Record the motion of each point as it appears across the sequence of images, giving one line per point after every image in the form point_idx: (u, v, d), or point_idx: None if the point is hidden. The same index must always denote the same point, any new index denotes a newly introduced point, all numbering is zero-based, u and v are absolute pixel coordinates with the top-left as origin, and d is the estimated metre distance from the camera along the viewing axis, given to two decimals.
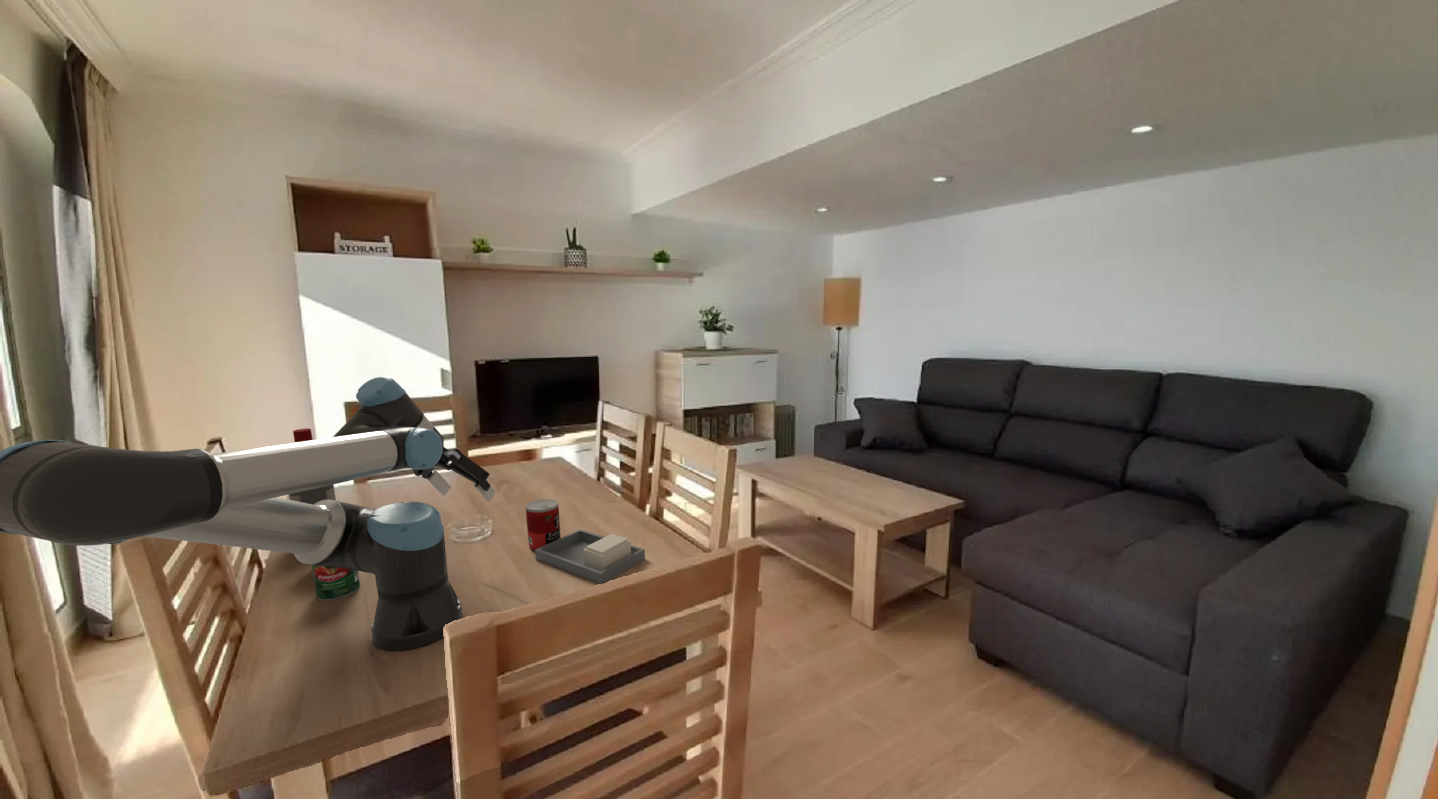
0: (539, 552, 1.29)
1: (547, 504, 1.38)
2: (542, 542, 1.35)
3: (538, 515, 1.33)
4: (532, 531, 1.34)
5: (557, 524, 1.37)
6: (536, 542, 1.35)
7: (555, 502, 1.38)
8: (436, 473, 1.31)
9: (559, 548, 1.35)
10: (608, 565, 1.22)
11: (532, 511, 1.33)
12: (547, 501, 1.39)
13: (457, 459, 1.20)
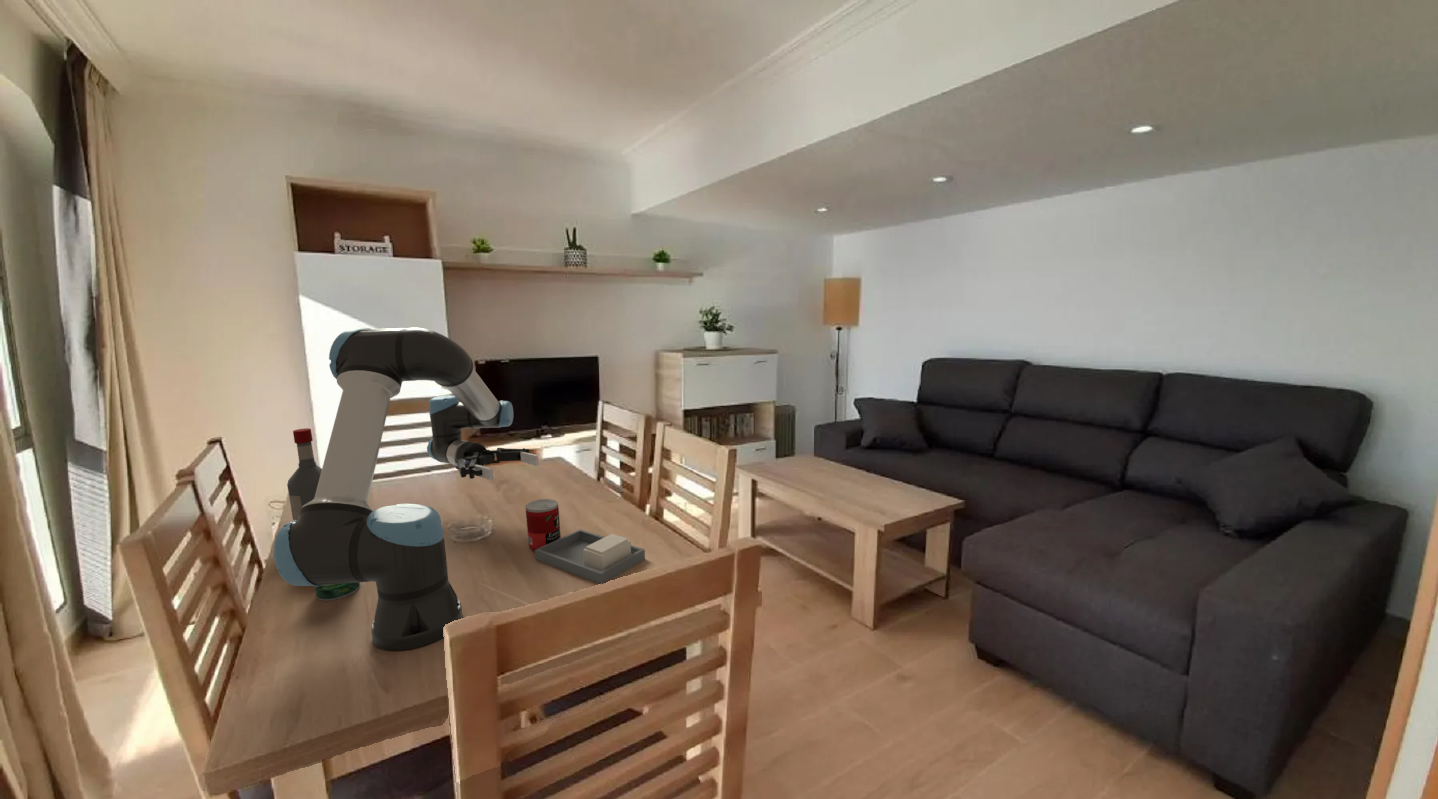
0: (539, 552, 1.29)
1: (547, 504, 1.38)
2: (542, 542, 1.35)
3: (538, 515, 1.33)
4: (532, 531, 1.34)
5: (557, 524, 1.37)
6: (536, 542, 1.35)
7: (555, 502, 1.38)
8: None
9: (559, 548, 1.35)
10: (608, 565, 1.22)
11: (532, 511, 1.33)
12: (547, 501, 1.39)
13: None
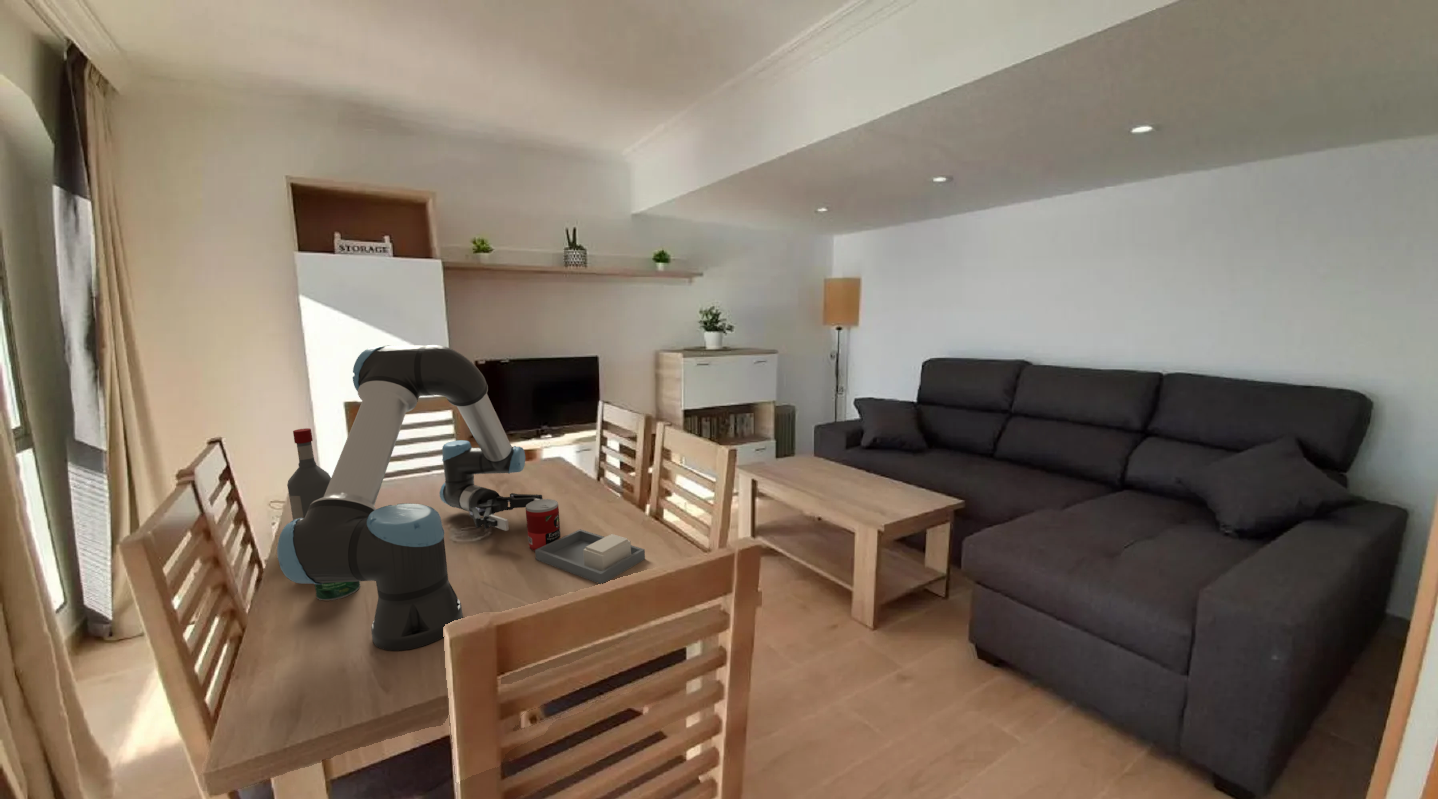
0: (539, 552, 1.29)
1: (547, 504, 1.38)
2: (542, 542, 1.35)
3: (538, 515, 1.33)
4: (532, 531, 1.34)
5: (557, 524, 1.37)
6: (536, 542, 1.35)
7: (555, 502, 1.38)
8: None
9: (559, 548, 1.35)
10: (608, 565, 1.22)
11: (532, 511, 1.33)
12: (547, 501, 1.39)
13: None
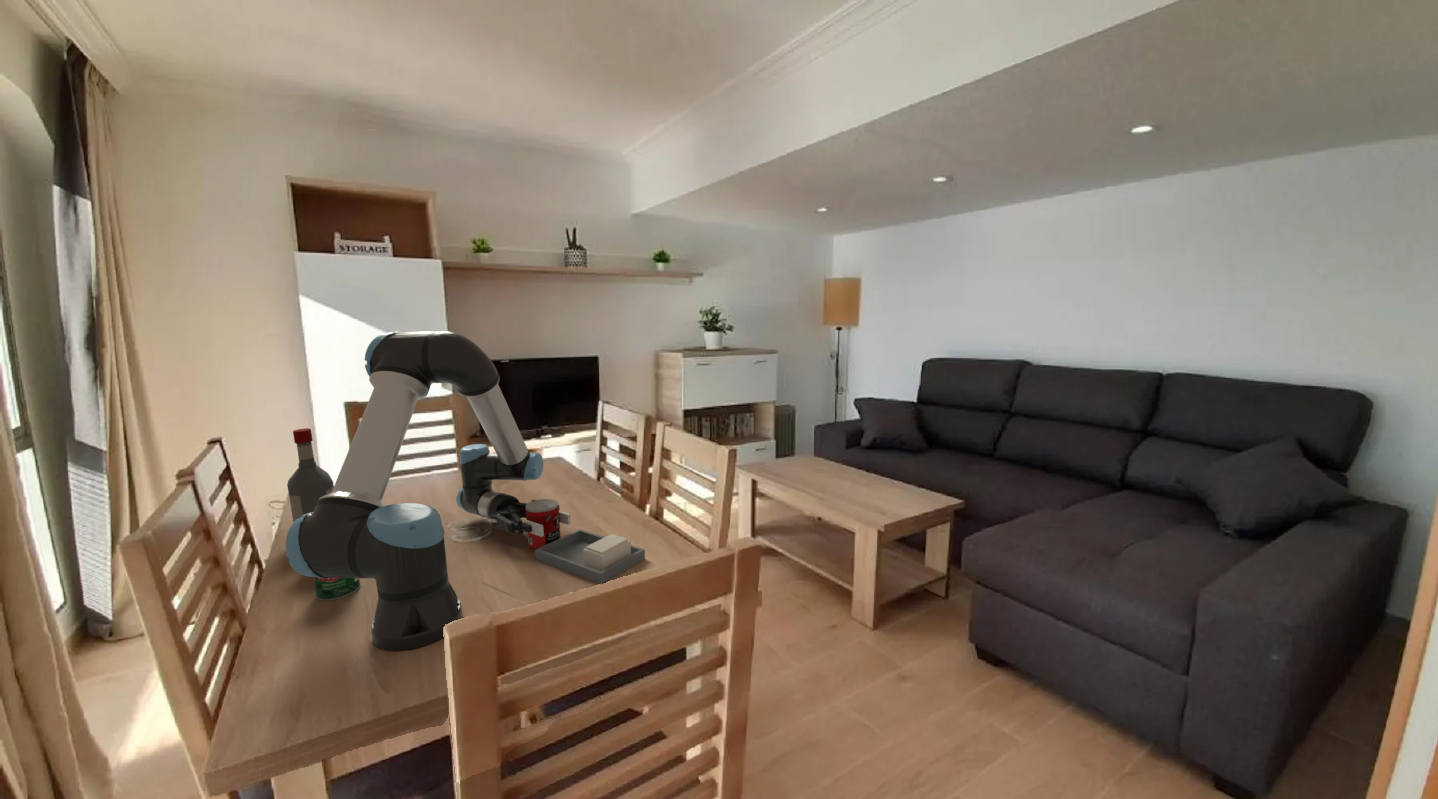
0: (539, 552, 1.29)
1: (547, 504, 1.38)
2: (542, 542, 1.35)
3: (538, 515, 1.33)
4: None
5: (557, 524, 1.37)
6: (536, 542, 1.35)
7: (555, 502, 1.38)
8: None
9: (559, 548, 1.35)
10: (608, 565, 1.22)
11: (532, 511, 1.33)
12: (547, 501, 1.39)
13: None
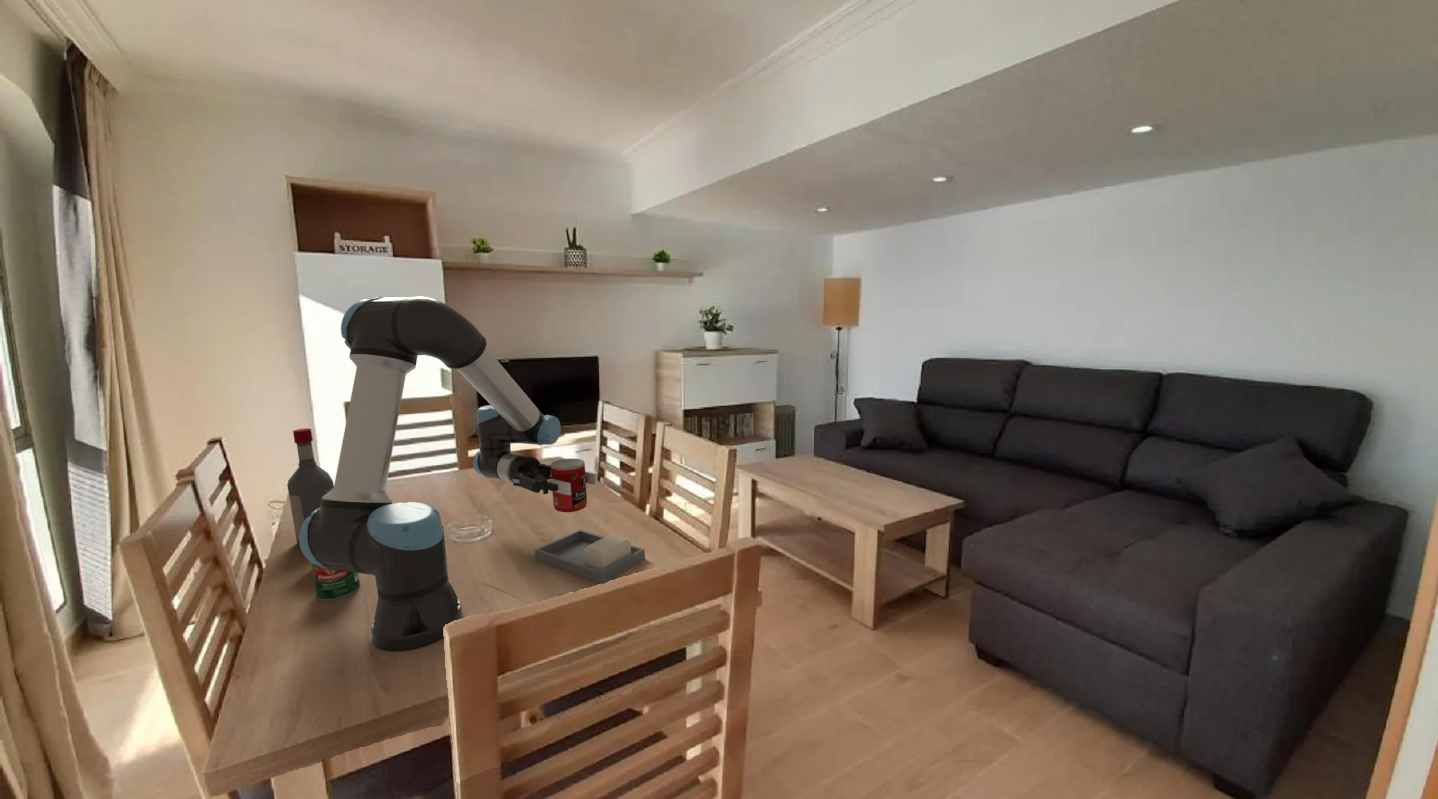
0: (539, 552, 1.29)
1: (573, 463, 1.30)
2: (568, 502, 1.27)
3: (564, 473, 1.26)
4: None
5: (584, 484, 1.29)
6: (562, 502, 1.27)
7: (581, 461, 1.31)
8: None
9: (559, 548, 1.35)
10: (608, 565, 1.22)
11: (558, 469, 1.26)
12: (572, 460, 1.32)
13: None
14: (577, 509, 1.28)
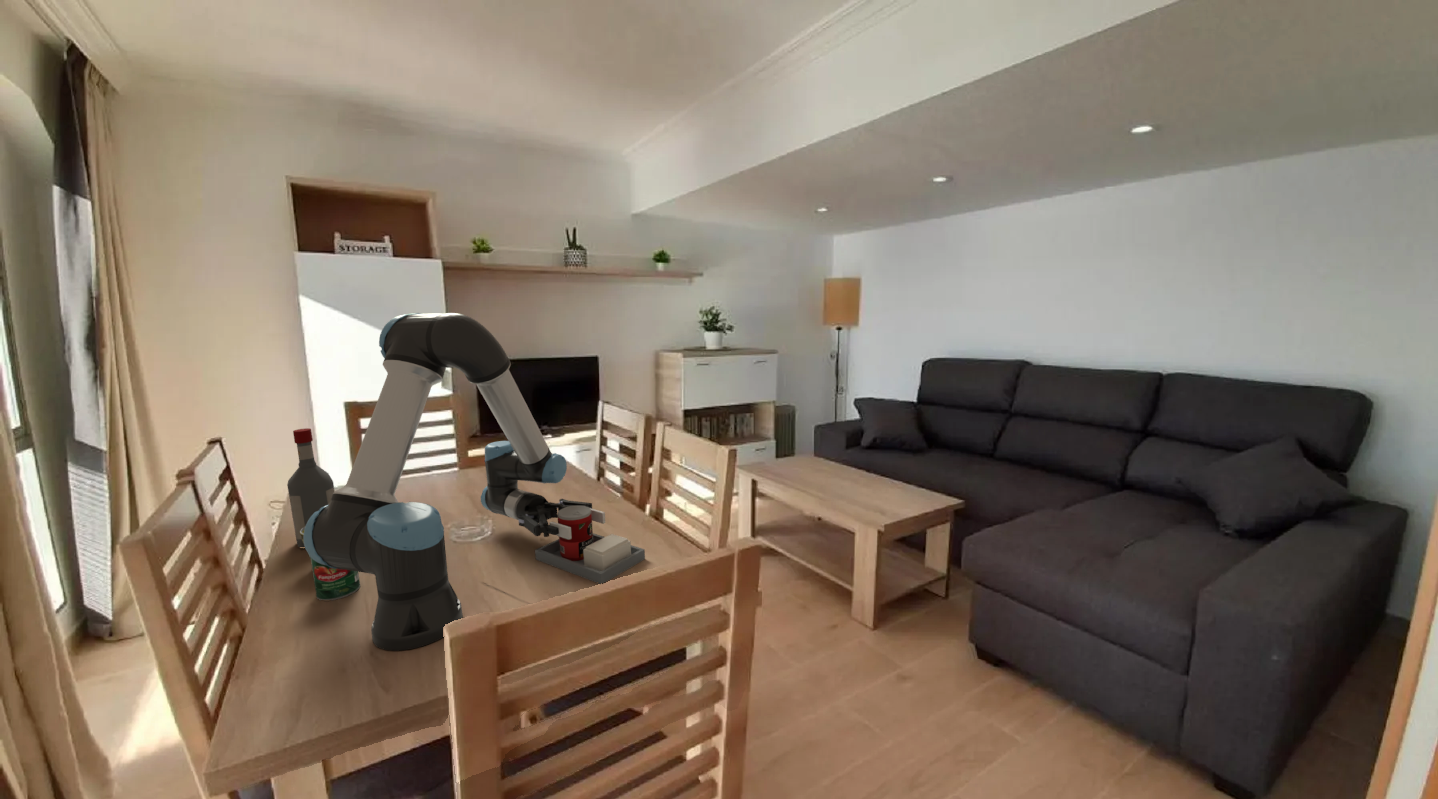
0: (539, 552, 1.29)
1: (580, 511, 1.31)
2: (575, 551, 1.28)
3: (571, 523, 1.27)
4: (565, 540, 1.28)
5: (590, 532, 1.30)
6: (569, 551, 1.28)
7: (588, 509, 1.31)
8: None
9: (559, 548, 1.35)
10: (608, 565, 1.22)
11: (565, 519, 1.27)
12: (579, 508, 1.33)
13: None
14: None
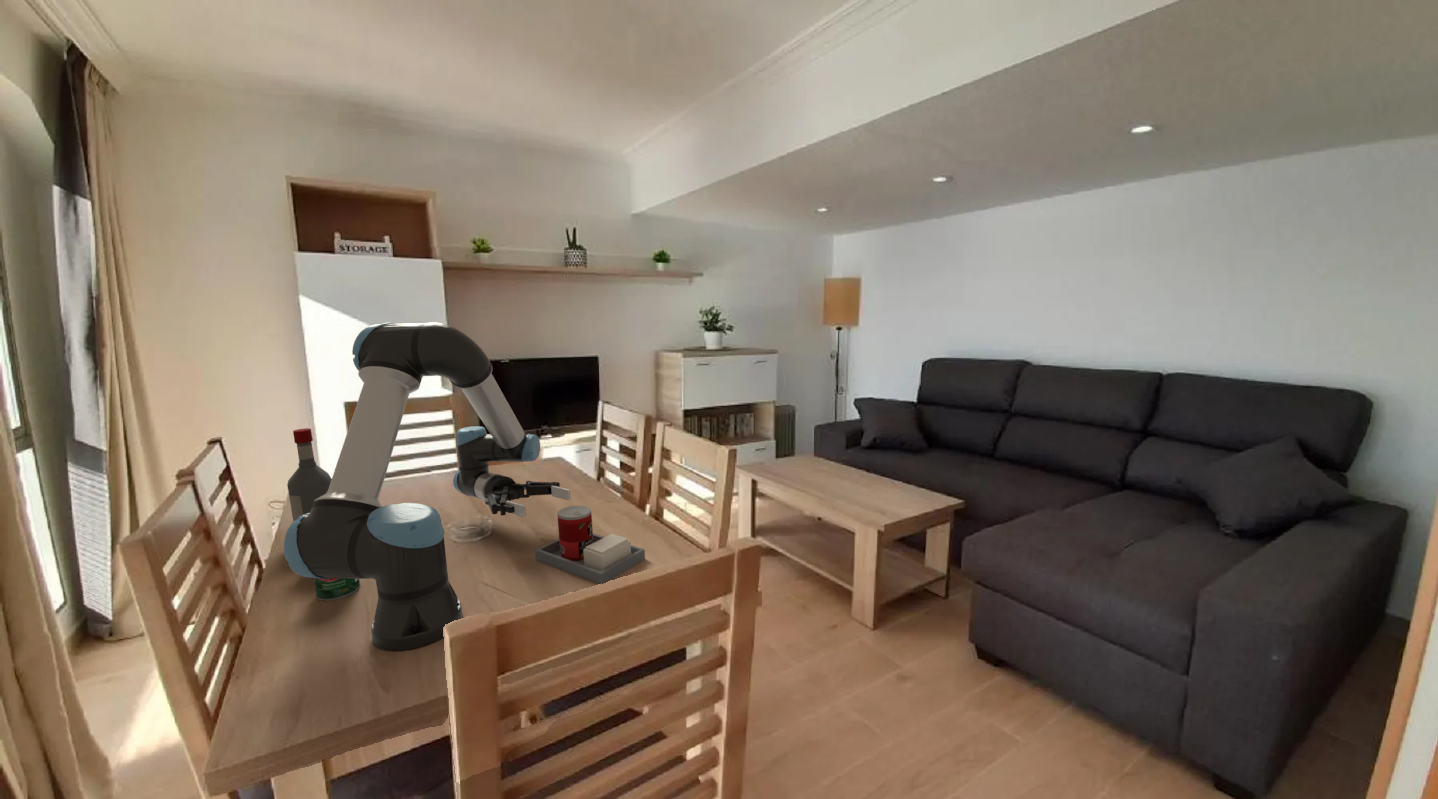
0: (539, 552, 1.29)
1: (580, 511, 1.31)
2: (575, 551, 1.28)
3: (571, 522, 1.27)
4: (565, 540, 1.28)
5: (590, 532, 1.30)
6: (569, 551, 1.28)
7: (588, 509, 1.31)
8: None
9: (559, 548, 1.35)
10: (608, 565, 1.22)
11: (565, 518, 1.27)
12: (579, 508, 1.33)
13: None
14: (583, 558, 1.29)
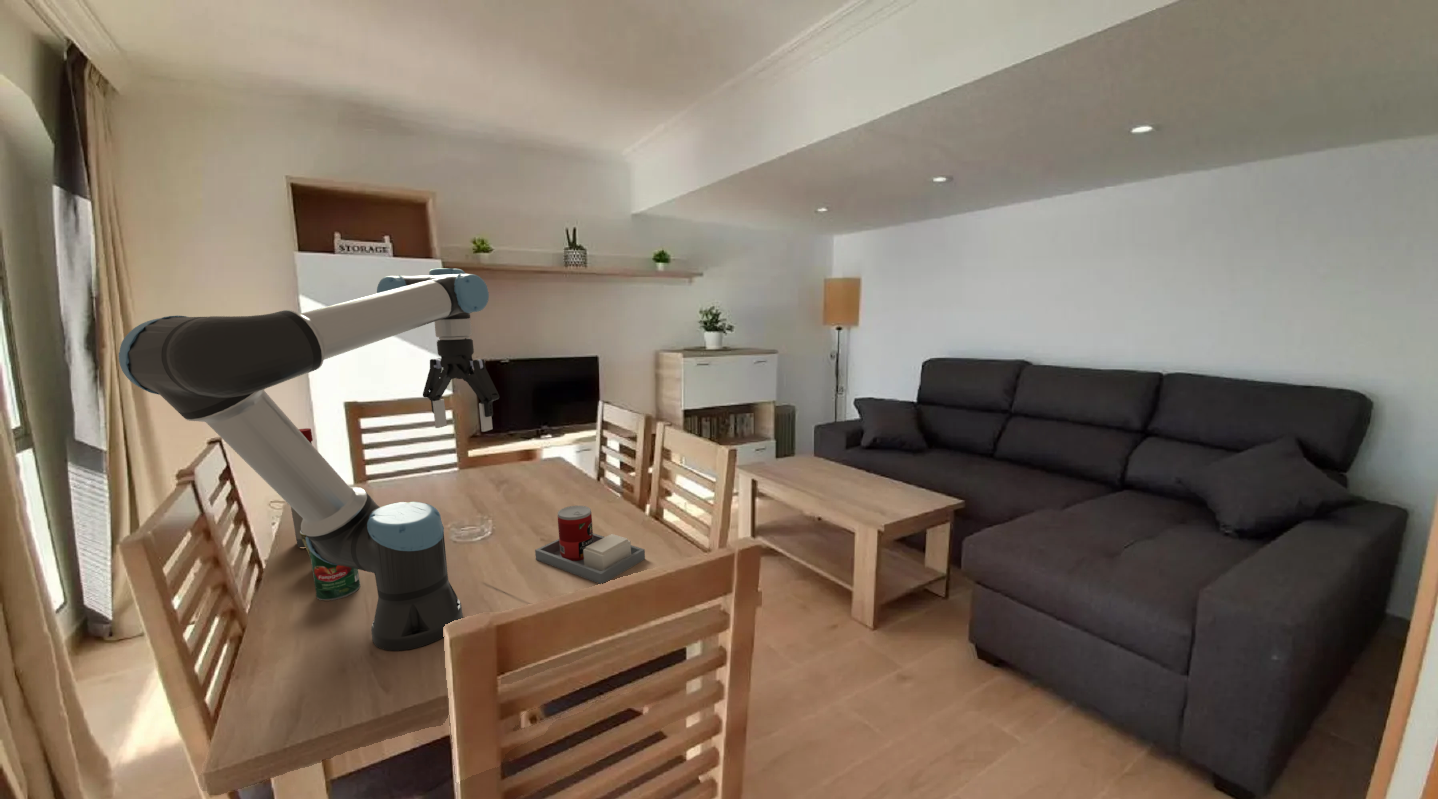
0: (539, 552, 1.29)
1: (580, 511, 1.31)
2: (575, 551, 1.28)
3: (571, 522, 1.27)
4: (565, 540, 1.28)
5: (590, 532, 1.30)
6: (569, 551, 1.28)
7: (588, 509, 1.31)
8: (442, 401, 1.31)
9: (559, 548, 1.35)
10: (608, 565, 1.22)
11: (565, 518, 1.27)
12: (579, 508, 1.33)
13: (479, 366, 1.23)
14: (583, 558, 1.29)
